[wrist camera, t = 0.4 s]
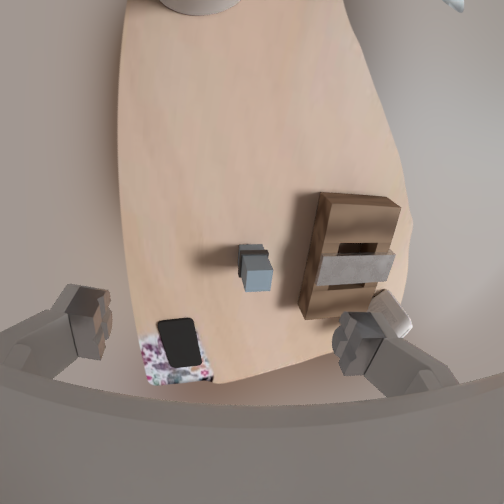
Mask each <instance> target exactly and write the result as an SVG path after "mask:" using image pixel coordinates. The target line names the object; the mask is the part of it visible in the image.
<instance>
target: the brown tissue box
mask: <svg viewBox="0 0 504 504" xmlns="http://www.w3.org/2000/svg"><path fill="white" fill-rule="evenodd" d="M400 211H401V207H400V206H398V205H397V204H396V203H394V202H393V201H391V200H390V199H389V198H387V197H380V196H368V195H355V194H341V193H325V192H320V197H319V202H318V208H317V213H316V218H315V223H314V229H313V234H312V239H311V244H310V249H309V254H308V258H307V263H306V268H305V273H304V277H303V282H302V287H301V291H300V296H299V300H298V306H299V308H300V310H301V312H302V315H303V317H304V319H305V320H313V319H323V318H332V317H340V316H341V314H342V313H343V312H344V311H347V312H367V310H368V307H369V305H370V302H371V299H372V297H373V294H374V291H375V289H376V286H377V283H378V282H369V283H355V284H340V285H324V286H316V284H315V279H316V275H317V270H318V266H319V262H320V258H321V253H337V252H338V248H339V244H340V243H362V244H361V248H360V251H359V253H368V252H388V251H389V248H390V244H391V241H392V238H393V235H394V231H395V228H396V225H397V221H398V218H399V214H400Z"/></svg>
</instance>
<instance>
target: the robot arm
mask: <svg viewBox="0 0 504 504" xmlns="http://www.w3.org/2000/svg"><path fill="white" fill-rule="evenodd" d="M160 1H161V2H162V3H163V4H164V5H165V6H167V7H168V8H170V9H172V10H174V11H176V12H179V13H183V14H187V15H210V14H215V13H219V12H222V11H224V10H227V9H229V8H231V7H232V6H234V5H235V4H237V3H238V2H239V1H240V0H160ZM110 301H111V299H110V292H109V291H108V290H105V289H99V288H92V287H87V286H81V285H75V284H68V285H67V286H66V287H65V288H64V290H63V291H62V293H61V294H60V296H59V297H58V299H57V300H56V302H55V303H54V305H53V306H52V308H51V309H50V310H44V311H42V312H40V313H38V314H36V315H34V316H32V317H30V318H28V319H26V320H24V321H22V322H20V323H18V324H16V325H14V326H12V327H10V328H8V329H6V330H4V331H2V332H0V504H504V372H503V373H499V374H496V375H492V376H489V377H485V378H482V379H478V380H474V381H470V382H466V383H462V384H459V382H458V381H457V379H456V378H455V376H454V375H453V373H452V372H451V371H450V369H449V368H448V366H447V365H445V364H444V363H442V362H440V361H438V360H437V359H435V358H434V357H432V356H431V355H429V354H427V353H426V352H424V351H423V350H421V349H419V348H418V347H416V346H414V345H413V344H411V343H410V342H408V341H406V340H404V339H403V338H398V336H397V335H396V333H395V332H394V330H393V329H392V327H391V326H390V324H389V323H388V321H387V320H386V318H385V317H384V315H383V314H382V313H381V312H347V311H344V312H343V313H342V314H341V316H340V319H339V322H340V326H339V327H338V328H337V329H336V330H335V332H334V334H333V337H332V348H333V351H334V354H335V355H336V356H338V357H339V358H340V360H339V366H340V368H341V370H342V372H343V375H344V376H355V375H364V377H365V378H366V379H367V380H369V381H370V382H371V383H372V384H373V385H374V386H375V387H376V388H378V390H379V391H381V392H382V393H383V394H384V395H385V396H386V397H387V398H380V399H373V400H364V401H354V402H343V403H330V404H312V405H282V406H253V405H252V406H251V405H248V406H247V405H222V404H221V405H220V404H204V403H191V402H179V401H170V400H161V399H153V398H146V397H139V396H131V395H125V394H120V393H113V392H108V391H103V390H98V389H92V388H88V387H83V386H78V385H73V384H70V383H65V382H61V381H57V380H53V378H54V377H55V376H57V375H58V374H59V373H60V372H61V371H63V370H64V369H65V368H66V367H68V366H69V365H70V364H71V363H72V362H74V361H75V360H76V359H77V358H78V357H82V358H88V359H94V360H101V359H102V356H103V353H104V350H105V348H106V346H105V340H107V339H108V338H109V336H110V333H111V329H112V311H111V310H110V309H109V307H108V306H109V304H110Z"/></svg>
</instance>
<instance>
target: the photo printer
mask: <svg viewBox="0 0 504 504" xmlns="http://www.w3.org/2000/svg"><path fill="white" fill-rule="evenodd" d="M367 312H381V313H382V314H383V315H384V317H385V318H386V320H387V321H388V323H389V324H390V326H391V327H392V329H393V330H394V332H395V333H396V335H397V336H398V338H403V337H404V336H405V335H406V334H407V333H408V332H409V331H410V330H411V328H412V327H413V326H412V323H411V319H410V317H409V316H408V314H407V313H406V312H405V310H404V309H403V308H402V306H401V305H400V304H399V302H398V301H397V300H396V298H395V297H394V296H393V295H392V293H391V292H390V291H389V290H384V291H383V292H381V293H380V294H378V295H377V296H375V297H374V298H372V299H371V302H370V305H369V307H368V310H367Z"/></svg>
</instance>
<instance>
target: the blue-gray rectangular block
mask: <svg viewBox="0 0 504 504" xmlns="http://www.w3.org/2000/svg"><path fill="white" fill-rule="evenodd" d="M268 256H269V253H268V251H267V250H264V247H263V245H262V244H253V245H239V256H238V267H239V268H238V275H239V277H241V278H242V282H243V285H244V289H245V292H257V291H270V288H271V281H272V275H273V268H272V266H271V264H270V261H269V259H268Z"/></svg>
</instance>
